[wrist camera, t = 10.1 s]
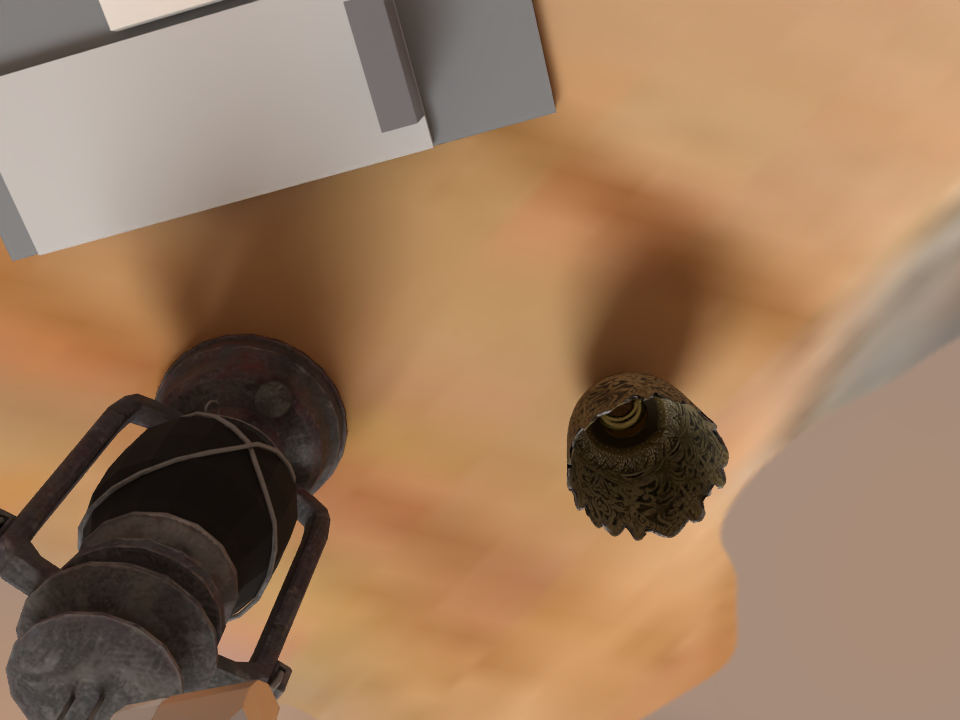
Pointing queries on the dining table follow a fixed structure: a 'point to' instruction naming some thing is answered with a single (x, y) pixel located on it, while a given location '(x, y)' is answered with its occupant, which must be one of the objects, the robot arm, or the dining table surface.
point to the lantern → (177, 534)
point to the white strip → (145, 11)
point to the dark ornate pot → (642, 457)
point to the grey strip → (206, 116)
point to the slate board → (429, 39)
